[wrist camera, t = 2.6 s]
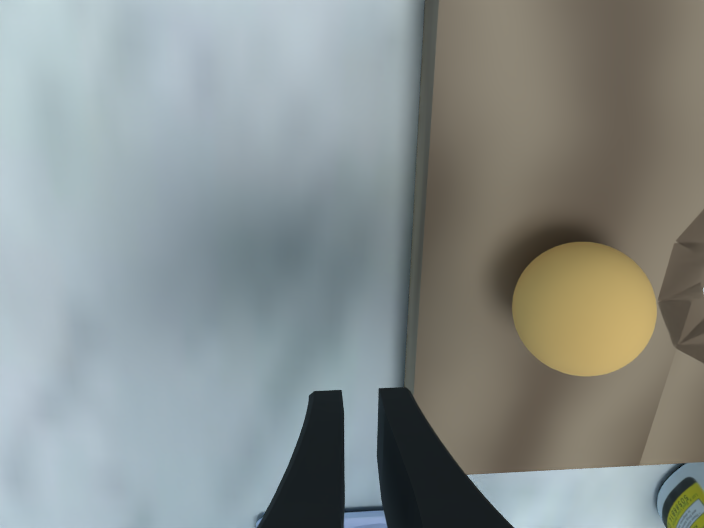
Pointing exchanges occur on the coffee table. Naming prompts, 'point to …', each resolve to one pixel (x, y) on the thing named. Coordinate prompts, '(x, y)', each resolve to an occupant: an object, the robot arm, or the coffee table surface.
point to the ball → (584, 309)
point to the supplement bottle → (683, 497)
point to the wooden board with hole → (557, 224)
